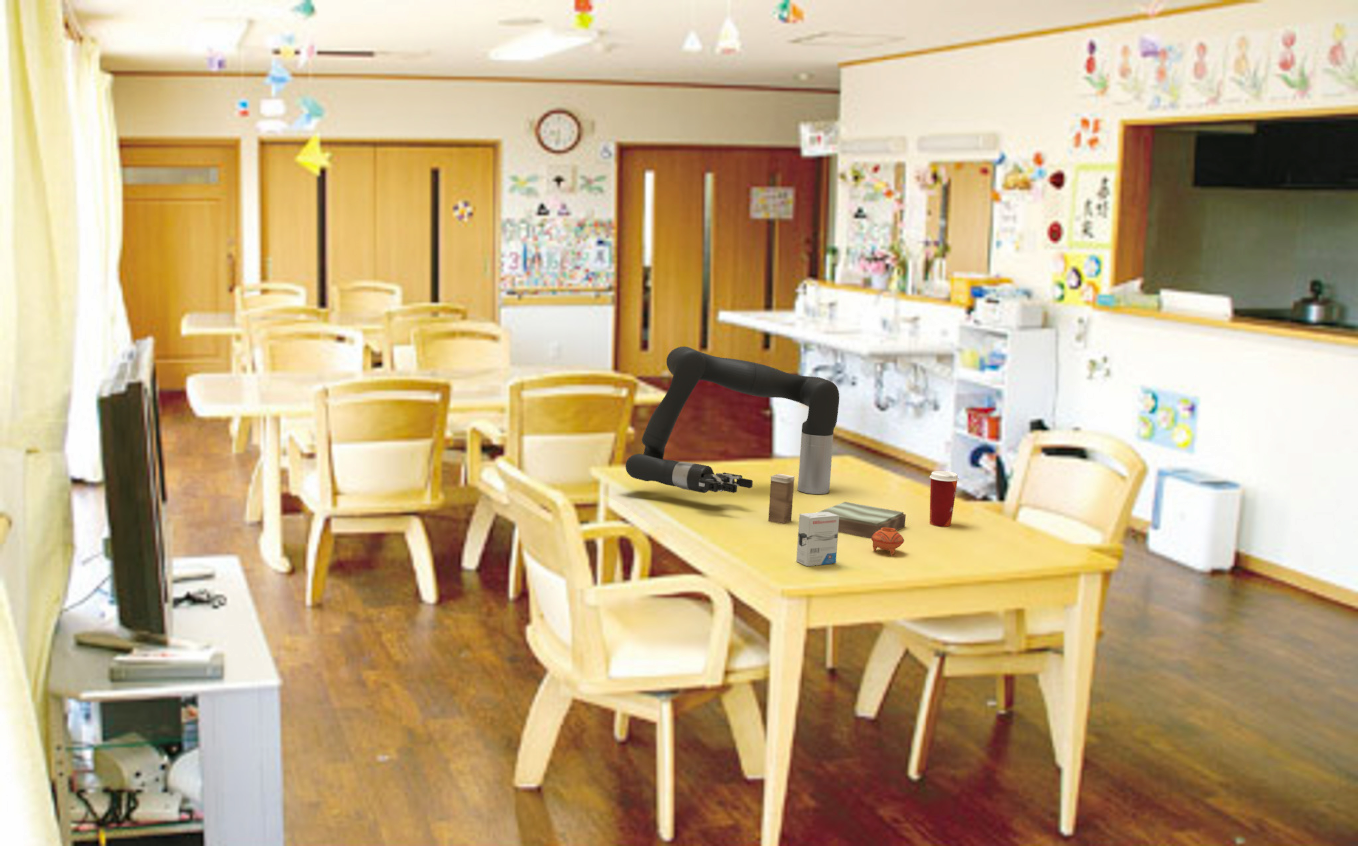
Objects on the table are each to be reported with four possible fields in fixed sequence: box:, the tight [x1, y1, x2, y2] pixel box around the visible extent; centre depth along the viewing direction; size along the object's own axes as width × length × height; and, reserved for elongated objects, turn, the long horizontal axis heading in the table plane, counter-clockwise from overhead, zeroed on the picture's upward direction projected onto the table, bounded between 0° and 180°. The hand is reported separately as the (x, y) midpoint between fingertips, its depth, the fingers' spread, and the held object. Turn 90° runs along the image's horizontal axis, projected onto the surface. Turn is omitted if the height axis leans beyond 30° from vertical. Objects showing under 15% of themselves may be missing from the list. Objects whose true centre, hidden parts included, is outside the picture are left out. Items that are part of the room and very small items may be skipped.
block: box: [767, 473, 795, 525], centre depth 368 cm, size 5×5×12 cm
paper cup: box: [929, 470, 959, 528], centre depth 374 cm, size 8×8×14 cm
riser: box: [816, 501, 907, 539], centre depth 366 cm, size 18×18×4 cm
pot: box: [870, 527, 905, 556], centre depth 342 cm, size 8×8×7 cm
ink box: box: [796, 511, 839, 567], centre depth 328 cm, size 8×5×12 cm, turn 118°
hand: (744, 486), depth 373 cm, fingers open, 8 cm apart
